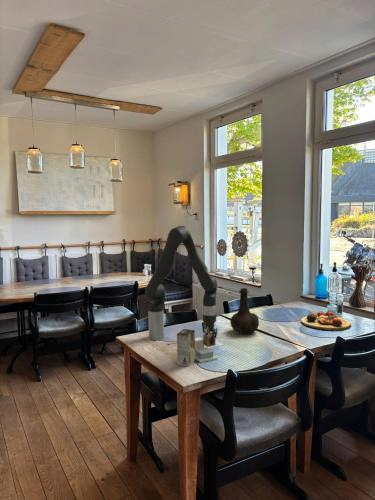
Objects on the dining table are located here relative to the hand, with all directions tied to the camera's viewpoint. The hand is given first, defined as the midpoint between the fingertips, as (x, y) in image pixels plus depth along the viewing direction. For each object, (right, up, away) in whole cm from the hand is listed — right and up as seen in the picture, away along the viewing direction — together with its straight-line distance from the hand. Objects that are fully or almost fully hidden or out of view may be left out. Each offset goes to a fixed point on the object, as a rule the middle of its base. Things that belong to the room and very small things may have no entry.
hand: (209, 342), depth 210 cm
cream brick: (-6, -4, +4) cm, 8 cm away
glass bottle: (+24, -1, +31) cm, 39 cm away
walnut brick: (0, -1, 0) cm, 1 cm away
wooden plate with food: (+81, +1, +46) cm, 93 cm away
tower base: (-3, -5, -12) cm, 13 cm away
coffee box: (-13, -6, -17) cm, 22 cm away
